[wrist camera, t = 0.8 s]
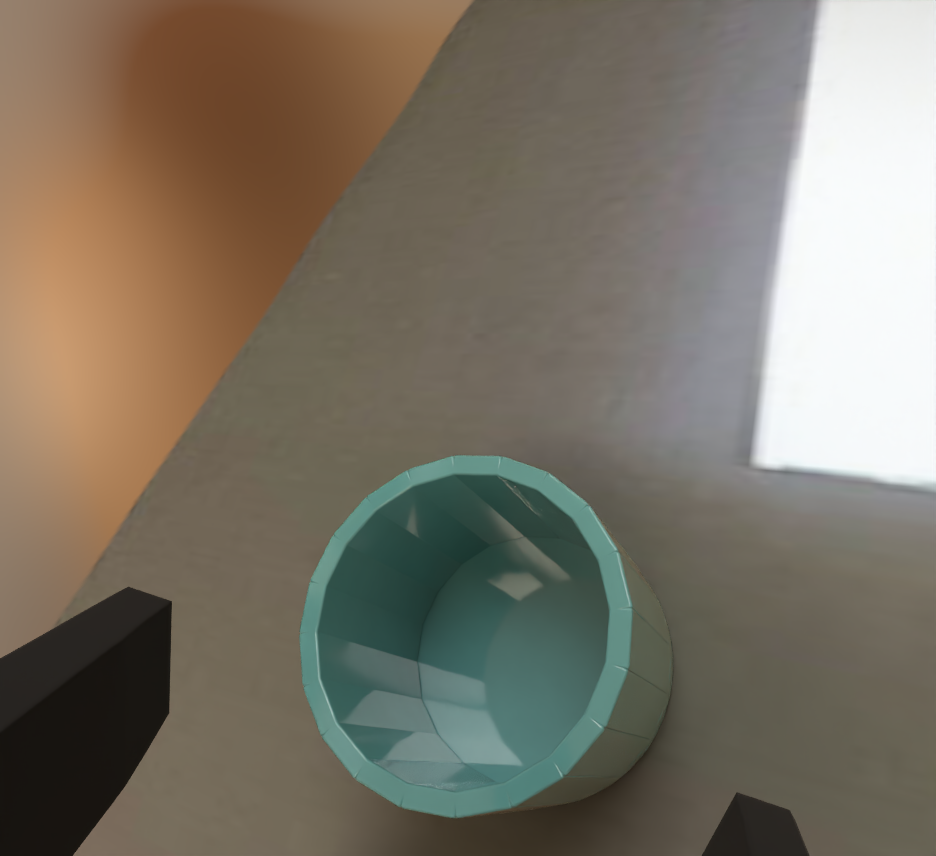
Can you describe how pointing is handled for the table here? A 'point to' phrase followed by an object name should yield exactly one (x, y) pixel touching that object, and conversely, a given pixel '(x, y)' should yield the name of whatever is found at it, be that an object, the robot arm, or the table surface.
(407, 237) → the table surface
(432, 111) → the table surface
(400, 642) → the pen holder
